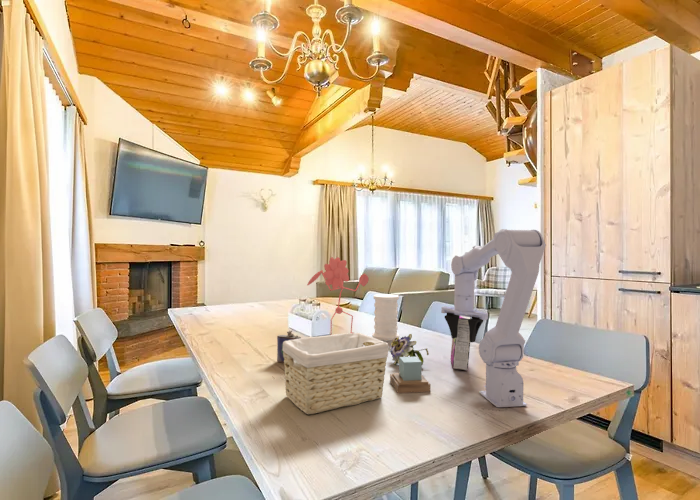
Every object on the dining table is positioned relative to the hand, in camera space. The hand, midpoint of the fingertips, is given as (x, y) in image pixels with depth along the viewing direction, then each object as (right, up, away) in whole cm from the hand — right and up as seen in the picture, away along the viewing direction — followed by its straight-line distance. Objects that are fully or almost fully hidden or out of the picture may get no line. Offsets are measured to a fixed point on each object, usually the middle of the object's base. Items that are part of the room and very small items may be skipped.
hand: (463, 339), depth 116 cm
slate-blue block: (-18, -8, -9) cm, 22 cm away
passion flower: (-15, -11, +11) cm, 22 cm away
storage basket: (-38, -11, -18) cm, 44 cm away
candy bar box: (+1, -11, +9) cm, 14 cm away
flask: (-55, -11, +11) cm, 57 cm away
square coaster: (-18, -11, -9) cm, 23 cm away
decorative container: (-19, -11, +48) cm, 53 cm away
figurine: (-40, -10, +31) cm, 52 cm away
